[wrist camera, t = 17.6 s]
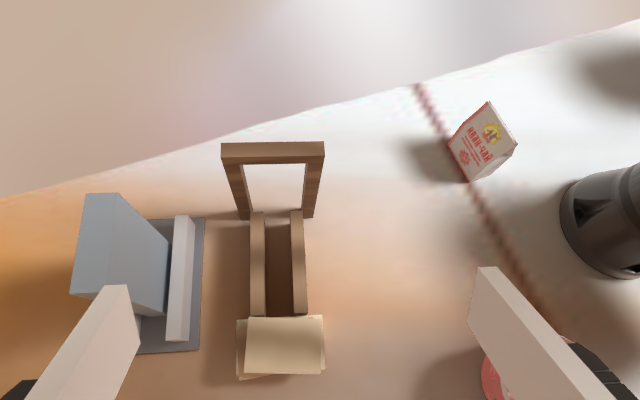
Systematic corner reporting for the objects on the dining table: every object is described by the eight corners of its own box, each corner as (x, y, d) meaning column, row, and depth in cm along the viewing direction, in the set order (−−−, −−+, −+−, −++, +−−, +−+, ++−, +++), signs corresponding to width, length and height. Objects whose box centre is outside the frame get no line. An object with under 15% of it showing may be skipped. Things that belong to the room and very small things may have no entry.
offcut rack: (324, 373, 45) (346, 382, 29) (237, 379, 44) (209, 393, 28) (313, 207, 53) (326, 141, 37) (239, 209, 52) (218, 143, 36)
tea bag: (467, 137, 59) (500, 96, 50) (490, 175, 57) (529, 139, 48) (446, 144, 58) (476, 104, 49) (468, 182, 56) (504, 148, 47)
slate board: (171, 315, 45) (104, 291, 29) (148, 316, 45) (68, 293, 28) (175, 249, 48) (118, 192, 32) (155, 249, 48) (85, 193, 31)
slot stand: (198, 349, 45) (189, 349, 40) (117, 355, 44) (98, 355, 40) (204, 219, 51) (197, 206, 46) (133, 222, 50) (118, 209, 45)
